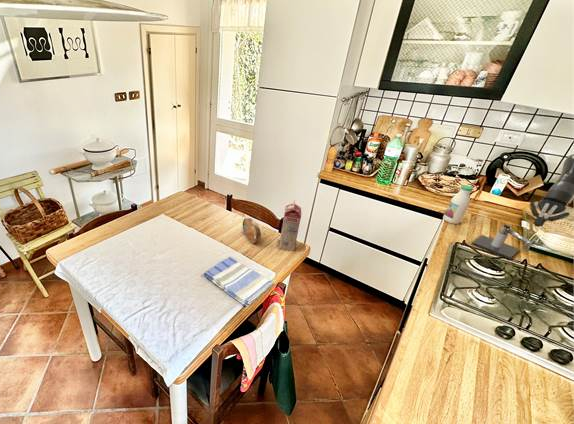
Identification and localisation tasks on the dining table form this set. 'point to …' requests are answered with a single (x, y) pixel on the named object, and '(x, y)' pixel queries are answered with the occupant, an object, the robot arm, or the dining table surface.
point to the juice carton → (290, 227)
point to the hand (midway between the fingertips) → (536, 225)
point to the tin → (251, 230)
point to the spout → (507, 229)
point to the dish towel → (239, 281)
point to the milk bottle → (458, 205)
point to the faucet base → (498, 251)
